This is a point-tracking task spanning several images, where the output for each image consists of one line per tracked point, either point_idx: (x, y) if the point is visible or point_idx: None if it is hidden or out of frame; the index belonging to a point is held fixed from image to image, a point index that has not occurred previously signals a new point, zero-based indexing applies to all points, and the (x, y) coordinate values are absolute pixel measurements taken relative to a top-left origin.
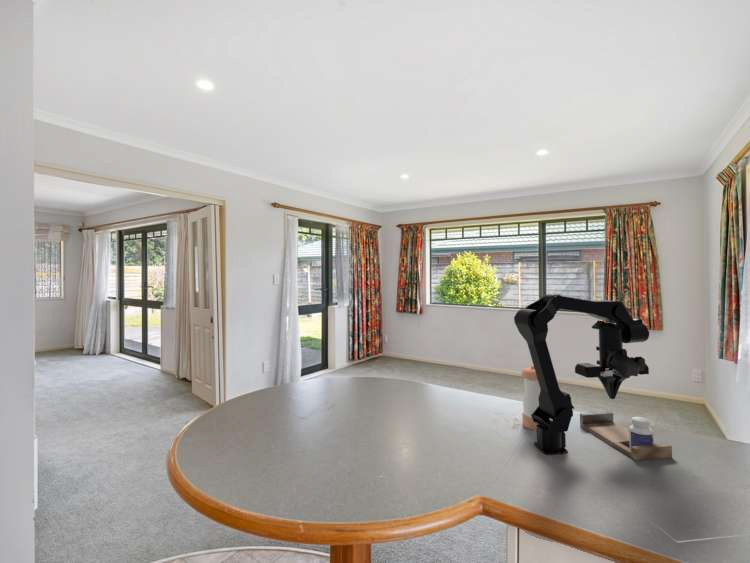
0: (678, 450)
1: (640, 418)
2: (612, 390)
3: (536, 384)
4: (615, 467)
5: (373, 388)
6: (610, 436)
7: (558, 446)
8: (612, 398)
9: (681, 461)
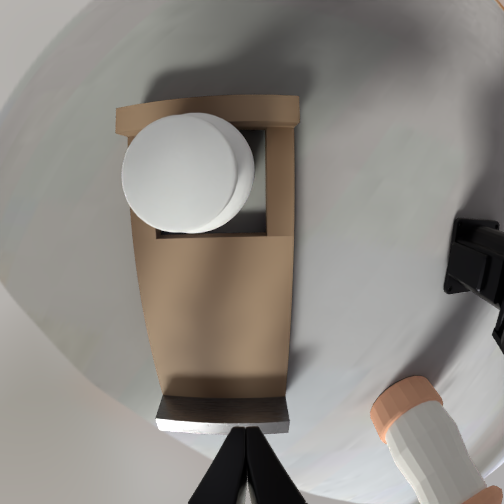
0: (73, 179)
1: (163, 190)
2: (272, 488)
3: (475, 481)
4: (385, 94)
5: None
6: (262, 291)
7: (484, 228)
8: (257, 428)
9: (125, 96)
